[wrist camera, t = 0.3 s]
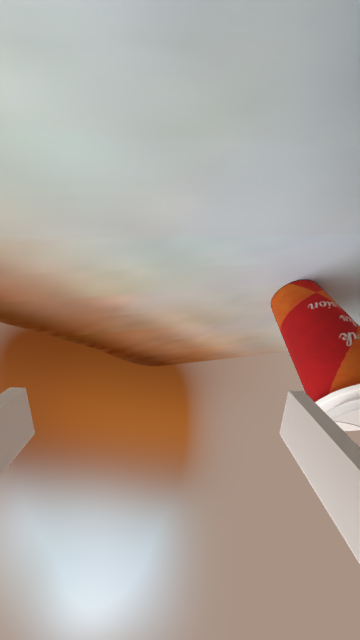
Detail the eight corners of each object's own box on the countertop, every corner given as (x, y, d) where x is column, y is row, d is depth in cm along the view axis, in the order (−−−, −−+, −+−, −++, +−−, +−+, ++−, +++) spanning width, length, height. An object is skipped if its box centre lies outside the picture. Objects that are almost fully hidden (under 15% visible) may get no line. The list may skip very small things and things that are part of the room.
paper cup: (336, 297, 25) (440, 416, 16) (277, 327, 29) (331, 437, 19) (316, 257, 21) (441, 386, 11) (250, 297, 25) (302, 420, 15)
